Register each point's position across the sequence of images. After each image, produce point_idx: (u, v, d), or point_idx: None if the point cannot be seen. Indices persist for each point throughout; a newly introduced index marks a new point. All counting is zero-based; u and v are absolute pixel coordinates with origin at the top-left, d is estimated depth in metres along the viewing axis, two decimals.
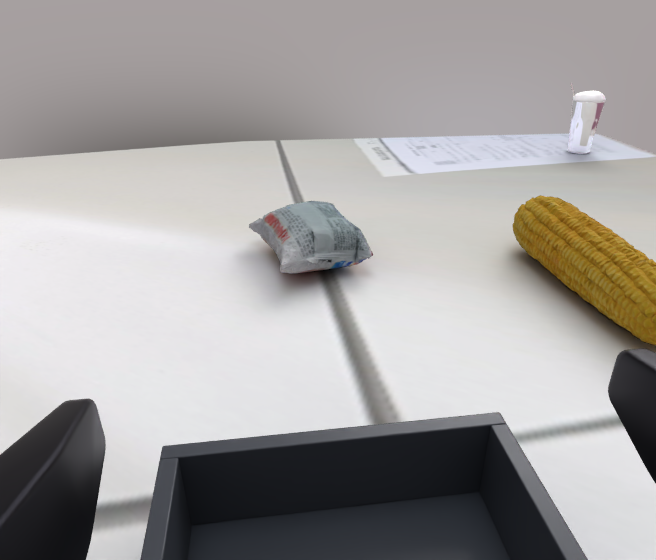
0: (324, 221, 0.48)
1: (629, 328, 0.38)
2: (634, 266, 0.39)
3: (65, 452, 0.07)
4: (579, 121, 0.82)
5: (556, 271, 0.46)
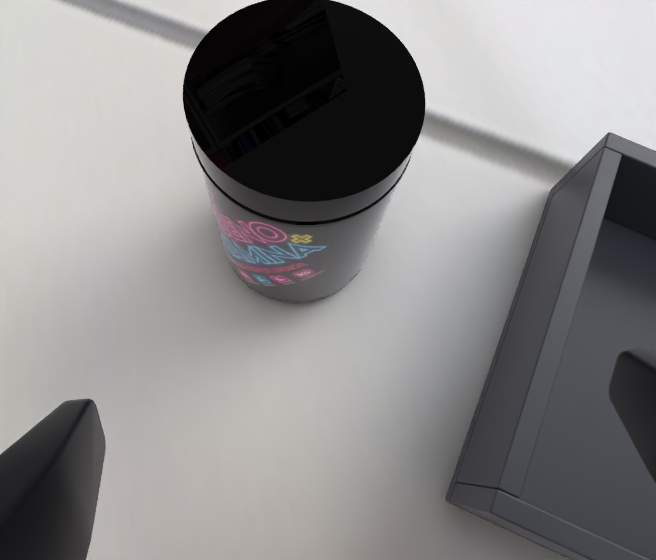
0: None
1: None
2: None
3: (65, 452, 0.07)
4: None
5: None
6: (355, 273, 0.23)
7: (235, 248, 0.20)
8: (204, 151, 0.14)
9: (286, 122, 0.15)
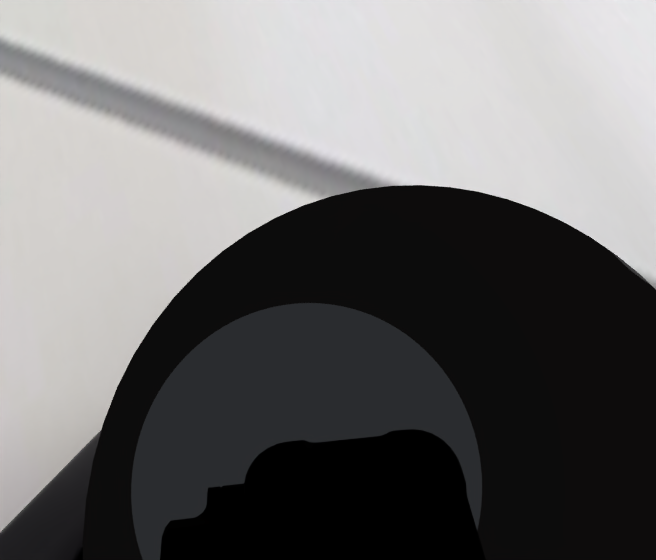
0: None
1: None
2: None
3: None
4: None
5: None
6: None
7: None
8: None
9: None
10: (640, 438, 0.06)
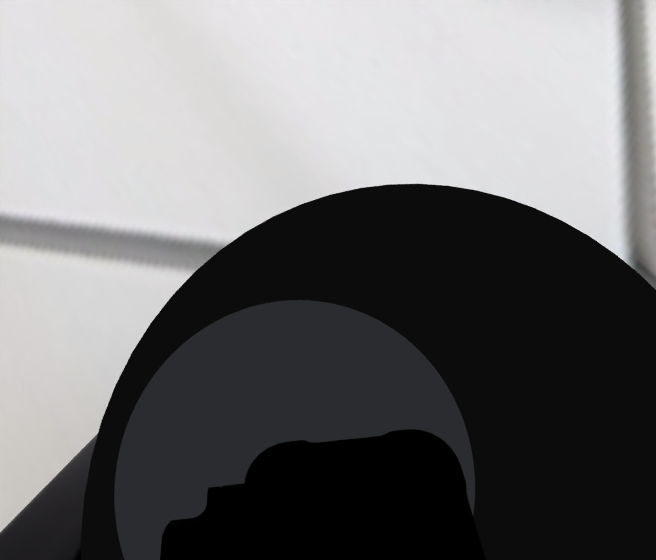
0: None
1: None
2: None
3: None
4: None
5: None
6: None
7: None
8: None
9: None
10: (638, 436, 0.06)
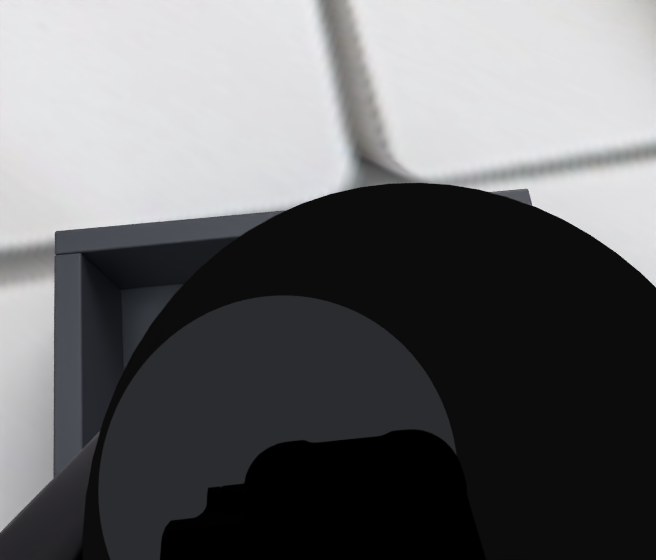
0: None
1: None
2: None
3: None
4: None
5: None
6: None
7: None
8: None
9: None
10: (640, 435, 0.06)
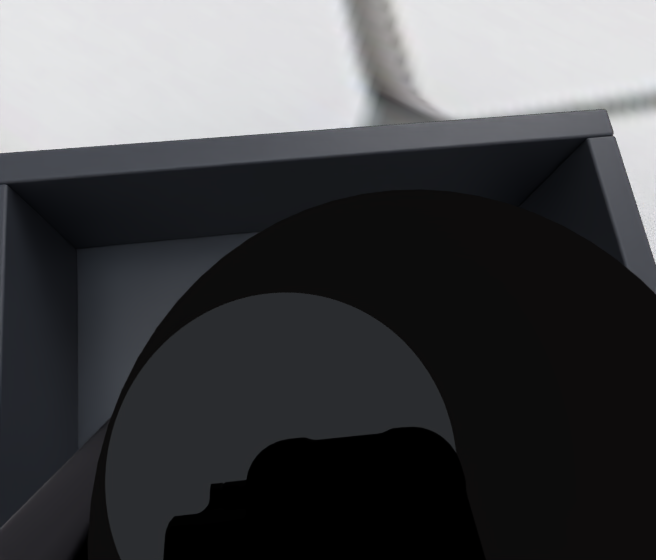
0: None
1: None
2: None
3: None
4: None
5: None
6: None
7: None
8: None
9: None
10: (638, 440, 0.06)
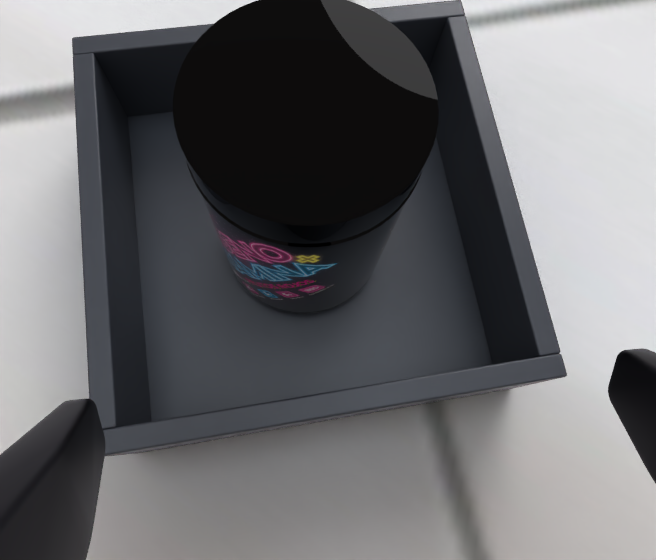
0: None
1: None
2: None
3: (65, 452, 0.07)
4: None
5: None
6: (366, 281, 0.22)
7: (238, 264, 0.19)
8: (197, 173, 0.13)
9: (286, 137, 0.13)
10: (387, 83, 0.14)
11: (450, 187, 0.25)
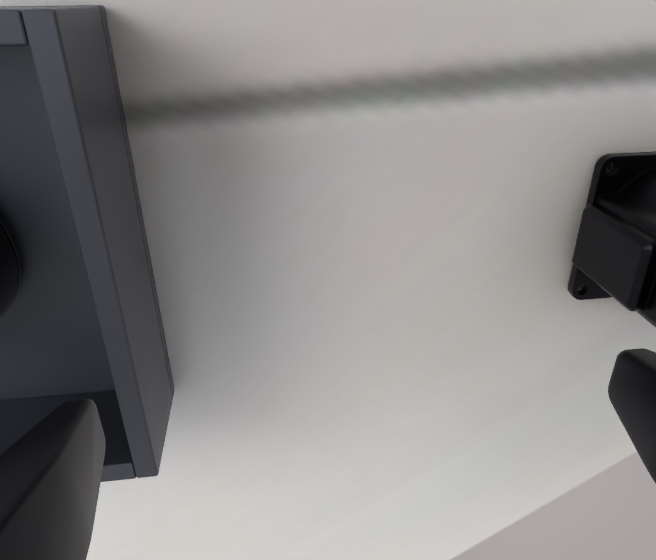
0: None
1: None
2: None
3: (65, 452, 0.07)
4: None
5: None
6: None
7: None
8: None
9: None
10: None
11: None
